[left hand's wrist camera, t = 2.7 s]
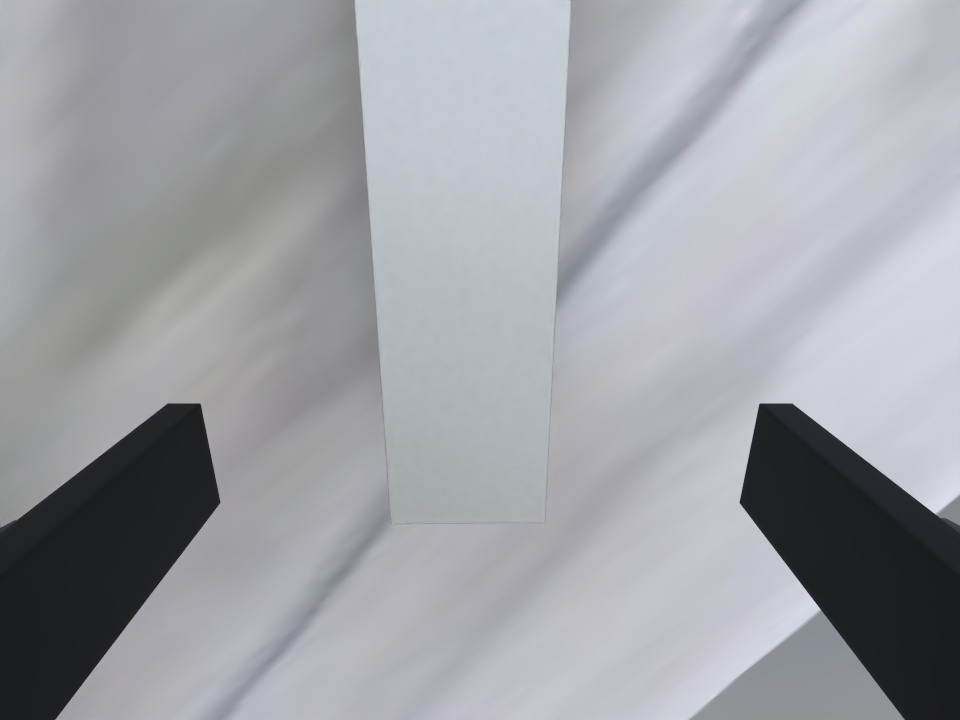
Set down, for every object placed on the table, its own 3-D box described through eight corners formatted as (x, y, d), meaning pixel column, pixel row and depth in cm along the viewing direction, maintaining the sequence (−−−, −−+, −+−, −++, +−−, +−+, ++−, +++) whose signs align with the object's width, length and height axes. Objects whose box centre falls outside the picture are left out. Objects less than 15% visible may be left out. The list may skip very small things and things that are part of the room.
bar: (519, 399, 26) (545, 523, 17) (418, 400, 26) (390, 524, 17) (541, -359, 17) (620, -940, 8) (384, -361, 17) (287, -951, 8)
